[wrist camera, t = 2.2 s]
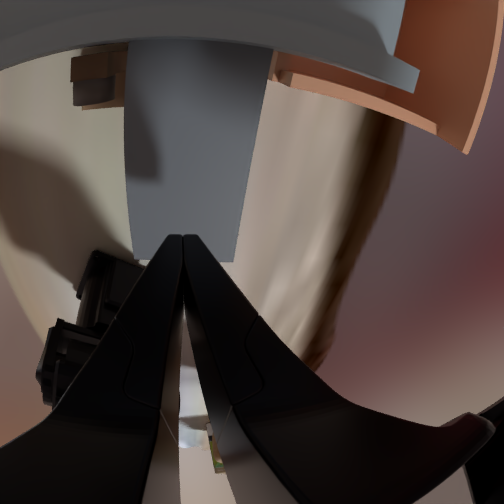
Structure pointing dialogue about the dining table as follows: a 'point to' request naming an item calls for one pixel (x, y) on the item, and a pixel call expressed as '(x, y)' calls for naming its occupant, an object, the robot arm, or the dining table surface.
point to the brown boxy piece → (421, 69)
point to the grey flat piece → (202, 89)
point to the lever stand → (99, 80)
